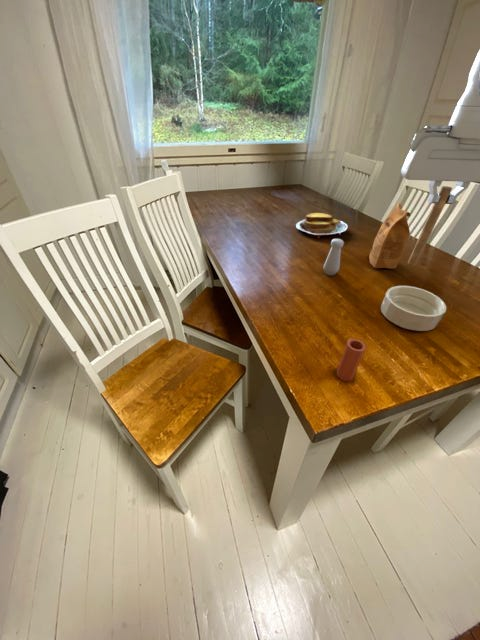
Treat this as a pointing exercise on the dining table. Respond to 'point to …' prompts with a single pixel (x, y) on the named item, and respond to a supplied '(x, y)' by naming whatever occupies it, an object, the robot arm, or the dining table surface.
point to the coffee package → (390, 239)
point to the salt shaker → (333, 257)
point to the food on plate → (321, 224)
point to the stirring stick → (429, 225)
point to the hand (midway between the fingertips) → (440, 203)
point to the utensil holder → (350, 359)
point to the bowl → (413, 308)
